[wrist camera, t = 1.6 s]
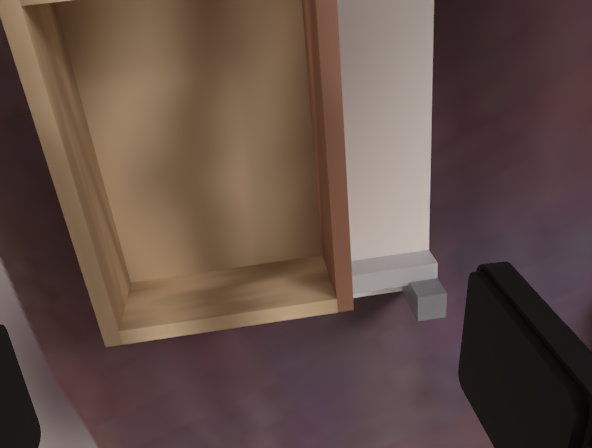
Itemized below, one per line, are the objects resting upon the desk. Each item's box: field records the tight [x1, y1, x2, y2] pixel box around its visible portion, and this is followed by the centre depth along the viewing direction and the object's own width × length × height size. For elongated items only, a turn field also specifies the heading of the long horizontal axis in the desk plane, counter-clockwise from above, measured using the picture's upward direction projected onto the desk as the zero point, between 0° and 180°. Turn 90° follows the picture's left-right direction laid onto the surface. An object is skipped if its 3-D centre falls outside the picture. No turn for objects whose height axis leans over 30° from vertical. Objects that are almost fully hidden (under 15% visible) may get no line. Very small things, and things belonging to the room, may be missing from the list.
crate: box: [0, 0, 354, 347], centre depth 26 cm, size 12×16×5 cm
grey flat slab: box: [337, 0, 447, 321], centre depth 27 cm, size 17×22×4 cm
